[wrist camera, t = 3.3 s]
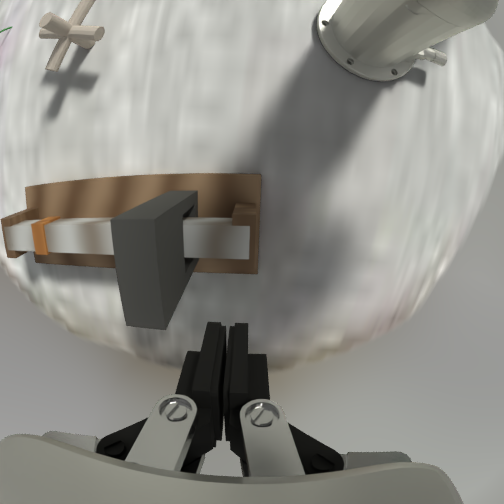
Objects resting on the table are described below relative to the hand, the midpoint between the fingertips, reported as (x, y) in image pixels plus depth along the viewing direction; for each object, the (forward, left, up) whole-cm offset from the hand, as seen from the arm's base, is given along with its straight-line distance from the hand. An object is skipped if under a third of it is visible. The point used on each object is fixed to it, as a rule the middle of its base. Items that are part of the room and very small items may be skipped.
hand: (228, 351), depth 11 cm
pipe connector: (+20, -24, -21) cm, 38 cm away
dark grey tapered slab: (+6, 0, -20) cm, 21 cm away
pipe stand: (+14, 0, -21) cm, 25 cm away
